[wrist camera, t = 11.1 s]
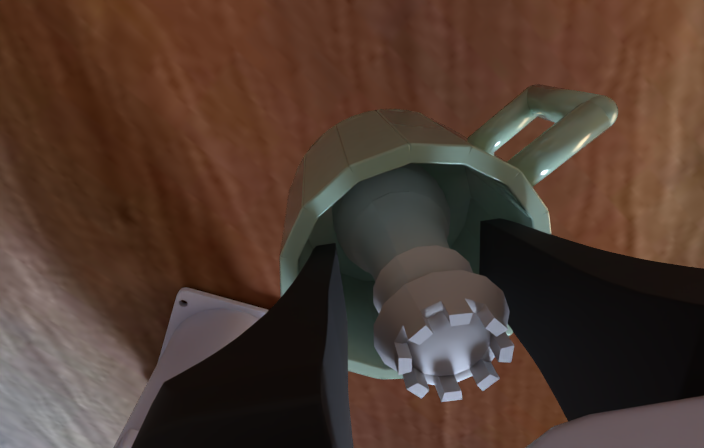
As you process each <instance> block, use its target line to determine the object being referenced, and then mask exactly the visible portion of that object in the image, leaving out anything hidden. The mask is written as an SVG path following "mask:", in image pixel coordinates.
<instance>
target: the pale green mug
mask: <svg viewBox="0 0 704 448" xmlns="http://www.w3.org/2000/svg"><path fill="white" fill-rule="evenodd" d="M617 116H618V107H617V104H616V103H615V101H614V100H613V99H611V98H609V97H607V96H603V95H598V94H592V93H586V92H580V91H575V90H569V89H563V88H557V87H552V86H546V85H540V84H536V85H532V86H530V87H528V88H526V89H525V90H524V91H523V92H522V93H520V94H519V95H518V96H517V97H516V98H514V99H513V100H512V101H511V102H510V103H508V104H507V105H506V106H505V107H504V108H503V109H501V110H500V111H499V112H498V113H497V114H495V115H494V116H493V117H492V118H491V119H489V120H488V121H487V122H486V123H485V124H484V125H482V126H481V127H480V128H479V129H478V130H476V131H475V132H474V133H473V134H472V135H470V136H469V137H468V138H466V137H465V136H463V135H461V134H460V133H458V132H456V131H455V130H453V129H451V128H449V127H447V126H445V125H443V124H441V123H439V122H437V121H436V120H434V119H432V118H430V117H428V116H426V115H424V114H422V113H418V112H412V111H408V110H400V109H380V110H374V111H368V112H364V113H361V114H358V115H354V116H352V117H350V118H348V119H346V120H343V121H341V122H340V123H338V124H337V125H335V126H333V127H332V128H330V129H329V130H328V131H326V132H325V133H324V134H323V135H322V136H320V137H319V138H318V139H317V141H316V142H315V143H314V144H313V145H312V146H311V147H310V148H309V150H308V151H307V153H306V154H305V156H304V157H303V159H302V161H301V162H300V164H299V166H298V168H297V171H296V174H295V176H294V179H293V183H292V185H291V187H290V190H289V195H288V202H287V209H286V216H285V223H284V230H283V237H282V244H281V251H280V290H281V297H282V296H283V294H284V293H285V292H286V291H287V289H288V288H289V287H290V285H291V284H292V283H293V281H294V280H295V279H296V277H297V276H298V274H299V273H300V271H301V270H302V268H303V267H304V265H305V263H306V262H307V260H308V258H309V256H310V255H311V253H312V251H313V249H314V248H315V247H316V246H318V245H325V244H332V243H336V249H337V255H338V261H339V267H340V273H341V279H342V285H343V291H344V298H345V306H346V314H347V322H348V371H351V372H355V373H358V374H362V375H366V376H369V377H373V378H377V379H404V378H403V375H402V374H401V375H398V372H397V371H395V370H394V369H392V368H391V367H389V366H387V365H386V364H384V362H383V361H382V359H381V357H380V356H379V354H378V352H377V351H376V349H375V347H374V323H375V321H376V319H377V317H378V315H379V313H378V311H377V309H376V308H375V306H374V302H373V287H374V284H375V280H374V278H373V276H372V275H371V274H370V273H369V272H365V271H364V270H363V269H361V268H360V267H359V266H357V265H356V264H355V263H353V262H352V261H350V260H349V258H348V257H347V256H346V254H345V252H344V251H343V249H342V247H341V245H340V244H339V242H338V240H337V234H336V232H335V230H334V224H333V210H332V209H333V206H334V203H335V202H336V201H338V200H339V199H340V198H341V197H342V196H343V195H344V194H345V193H347V192H348V191H349V190H350V189H351V188H352V187H353V186H355V185H356V184H357V183H358V182H360V181H363V180H365V179H368V178H371V177H374V176H376V175H379V174H382V173H385V172H387V171H390V170H393V169H396V168H398V167H401V166H404V165H406V164H409V163H413V164H416V165H418V166H421V167H423V168H424V169H425V170H426V171H427V172H428V173H429V174H430V175H431V176H432V177H433V178H434V179H435V180H436V181H437V183H438V185H439V187H440V188H441V189H442V190H443V192H444V195H445V198H446V200H447V203H448V206H449V208H450V214H451V215H450V228H449V235H448V237H447V242H448V245H449V248H450V249H452V250H455V251H457V252H458V253H459V254H460V255H461V256H463V257H464V258H465V259H466V260H467V261H468V262H469V263H470V266H471V269H472V271H473V273H475V274H478V275H479V262H480V221H484V220H491V219H497V218H501V219H506V220H510V221H513V222H516V223H519V224H522V225H525V226H528V227H531V228H534V229H537V230H540V231H542V232H545V233H548V234H551V227H550V218H549V211H548V209H547V207H546V206H545V204H544V203H543V201H542V200H541V198H540V197H539V195H538V194H537V193H536V191H535V190H534V188H533V186H534V185H536V184H537V183H538V182H540V181H541V180H542V179H543V178H545V177H546V176H547V175H549V174H550V173H551V172H553V171H554V170H555V169H556V168H558V167H559V166H560V165H562V164H563V163H564V162H566V161H567V160H568V159H569V158H571V157H572V156H573V155H575V154H576V153H577V152H579V151H580V150H581V149H582V148H584V147H585V146H586V145H588V144H589V143H590V142H592V141H593V140H594V139H595V138H597V137H598V136H599V135H601V134H602V133H603V132H605V131H606V130H607V129H609V128H610V127H611V126H612V125H613V124H614V122H615V121H616V119H617ZM537 117H539V118H542V119H545V120H548V121H551V122H555V124H554V125H552V126H551V127H550V128H549V129H547V130H546V131H545V132H544V133H542V134H541V135H540V136H539V137H537V138H536V139H535V140H534V141H533V142H531V143H530V144H529V145H528V146H526V147H525V148H524V149H523V150H521V151H520V152H519V153H518V154H516V155H515V156H514V157H513V158H511V159H510V160H509V161H508V162H507V161H505V160H503V159H502V158H500V157H498V156H496V155H495V154H493V153H494V152H495V151H496V150H497V149H499V148H500V147H501V146H502V145H504V144H505V143H506V142H507V141H508V140H510V139H511V138H512V137H513V136H515V135H516V134H517V133H518V132H519V131H521V130H522V129H523V128H524V127H526V126H527V125H528V124H529V123H531V122H532V121H533V120H534V119H535V118H537ZM507 328H508V329H509V330H507V331H506V334H507V335H508V337H509V336H510V335H511V334H512V333H513V331H512V329H511V328H510V326H509V325H508V324H507Z"/></svg>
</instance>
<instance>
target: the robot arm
mask: <svg viewBox="0 0 704 448" xmlns="http://www.w3.org/2000/svg"><path fill="white" fill-rule="evenodd" d="M479 275H482V276H485V277H487V278H488V279H489V280H490V281H492V282H493V283H494V284H495V285H496V286H497V287H498V288H500V289H501V290H502V291H503V293H504V296H505V299H506V302H507V305H508V308H509V311H510V312H509V318H508V323H507V324H508V325H509V326H510V328H511V329H512V331H513V332H514V333H515V335H516V336H517V337H518V339H519V340H520V342H521V343H522V344H523V346H524V347H525V349H526V350H527V351H528V353H529V354H530V356H531V357H532V358H533V360H534V362H535V363H536V365H537V366H538V368H539V369H540V371H541V373H542V374H543V376H544V378H545V380H546V381H547V383H548V385H549V387H550V388H551V390H552V392H553V394H554V395H555V397H556V399H557V401H558V403H559V405H560V406H561V408H562V410H563V412H564V414H565V416H566V418H567V420H568V422H565V423H563V424H560V425H557V426H554V427H552V428H550V429H549V430H548V431H547V432H545V433H544V434H543V435H541V436H540V437H539V438H538V439H536V440H535V441H534V442H532V443H531V444H530V445H528V446H527V447H526V448H704V269H702V268H694V267H686V266H680V265H674V264H667V263H661V262H655V261H649V260H644V259H639V258H634V257H630V256H625V255H621V254H616V253H612V252H608V251H604V250H600V249H596V248H593V247H589V246H586V245H583V244H579V243H576V242H572V241H569V240H566V239H563V238H560V237H557V236H554V235H551V234H548V233H545V232H542V231H540V230H537V229H534V228H531V227H528V226H525V225H522V224H519V223H516V222H513V221H510V220H506V219H501V218H497V219H491V220H484V221H480V262H479ZM181 300H185V301H186V302H187V303H183V302H182V301H181ZM114 448H353V439H352V429H351V419H350V409H349V398H348V322H347V314H346V306H345V298H344V291H343V285H342V279H341V273H340V267H339V261H338V255H337V249H336V243H332V244H325V245H318V246H316V247H315V248H314V249H313V251H312V253H311V255H310V256H309V258H308V260H307V262H306V263H305V265H304V267H303V268H302V270H301V271H300V273H299V274H298V276H297V277H296V279H295V280H294V281H293V283H292V284H291V285H290V287H289V288H288V289H287V291H286V292H285V293H284V294H283V296H282V297H281V298H280V299H279V300H278V302H277V303H276V304H275V305H274V306H273V307H272V308H271V309H270V310H267V309H264V308H260V307H257V306H253V305H249V304H246V303H242V302H239V301H235V300H231V299H228V298H224V297H220V296H217V295H213V294H210V293H206V292H202V291H199V290H195V289H192V288H187V287H184V288H181V289H180V290H179V292H178V293H177V296H176V299H175V303H174V307H173V310H172V314H171V317H170V321H169V324H168V328H167V332H166V335H165V339H164V342H163V346H162V349H161V353H160V357H159V360H158V364H157V366H156V368H155V370H154V371H153V373H152V375H151V377H150V379H149V381H148V383H147V385H146V387H145V389H144V391H143V392H142V394H141V396H140V398H139V400H138V402H137V404H136V406H135V408H134V410H133V412H132V414H131V415H130V417H129V419H128V421H127V423H126V425H125V427H124V429H123V431H122V433H121V435H120V436H119V438H118V440H117V442H116V444H115V446H114Z"/></svg>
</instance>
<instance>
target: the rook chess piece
mask: <svg viewBox="0 0 704 448" xmlns="http://www.w3.org/2000/svg"><path fill="white" fill-rule="evenodd" d="M332 210H333V224H334V230H335V232H336V234H337V240H338V242H339V244H340V245H341V247H342V249H343V251H344V252H345V254H346V256H347V257H348V258H349V260H350V261H352V262H353V263H355V264H356V265H357V266H359V267H360V268H361V269H363V270H364V271H365V272H369V273H370V274H371V275H372V276H373V278H374V280H375V284H374V287H373V302H374V306H375V308H376V309H377V311H378V313H379V315H378V317H377V319H376V321H375V323H374V347H375V349H376V351H377V352H378V354H379V356H380V357H381V359H382V361H383V362H384V364H386V365H387V366H389V367H391V368H392V369H394V370H395V371H397V372H398V375H401V374H402V375H403V378H404V381H405V385H406V389H407V390H409V391H410V392H412V393H414V394H415V395H417V396H419V397H420V398H423V396H424V395H425V394H426V393H427V392H428V391H429V388H428V385H427V384H431V385H435V386H436V389H437V392H438V395H439V397H440V400H441V402H444V401H453V400H461V399H462V394H461V390H460V387H459V385H458V383H457V382H459V381H461V380H464V379H466V378H468V377H471V376H473V377H474V379H475V381H476V383H477V385H478V386H479V387H480V389H481V390H482V391H484V390H485V389H486V388H488V387H489V386H490V385H492V384H493V383H494V382H496V381H497V380H498V379H500V378H499V376H498V374H497V373H496V371H495V369H494V367H493V366H492V364H491V361H492V360H493V358H494V357H496V358H497V360H498V362H511V359H512V354H513V349H514V344H513V343H512V341H511V340H510V338H509V337H508V335H507V334H506V331H507V330H509V329H508V328H507V323H508V318H509V312H510V311H509V308H508V305H507V302H506V299H505V296H504V293H503V291H502V290H501V289H500V288H498V287H497V286H496V285H495V284H494V283H493V282H492V281H490V280H489V279H488V278H487V277H485V276H482V275H478V274H475V273H473V271H472V269H471V266H470V263H469V262H468V261H467V260H466V259H465V258H464V257H463V256H461V255H460V254H459V253H458V252H457V251H455V250H452V249H450V248H449V245H448V242H447V237H448V235H449V228H450V215H451V214H450V208H449V206H448V203H447V200H446V198H445V195H444V192H443V190H442V189H441V188H440V187H439V185H438V183H437V181H436V180H435V179H434V178H433V177H432V176H431V175H430V174H429V173H428V172H427V171H426V170H425V169H424V168H423V167H421V166H418V165H416V164H413V163H409V164H406V165H404V166H401V167H398V168H396V169H393V170H390V171H387V172H385V173H382V174H379V175H376V176H374V177H371V178H368V179H365V180H363V181H360V182H358V183H357V184H356V185H355V186H353V187H352V188H351V189H350V190H349V191H348V192H347V193H345V194H344V195H343V196H342V197H341V198H340V199H339V200H338V201H336V202H335V203H334V206H333V209H332Z"/></svg>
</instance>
